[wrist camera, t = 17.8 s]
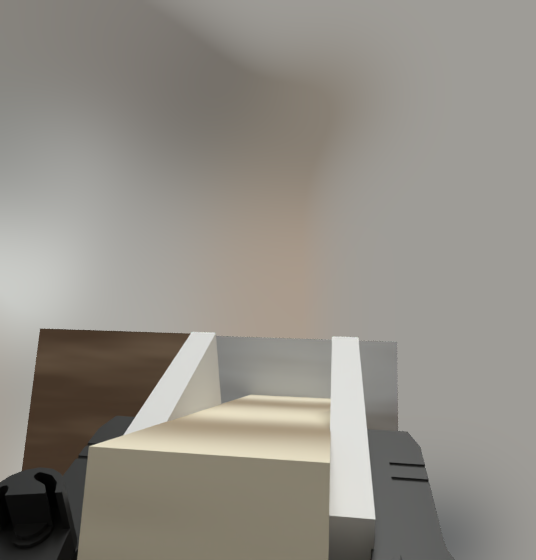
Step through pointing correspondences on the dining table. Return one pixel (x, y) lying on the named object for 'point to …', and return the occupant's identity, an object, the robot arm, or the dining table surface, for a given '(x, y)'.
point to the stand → (89, 387)
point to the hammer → (234, 461)
